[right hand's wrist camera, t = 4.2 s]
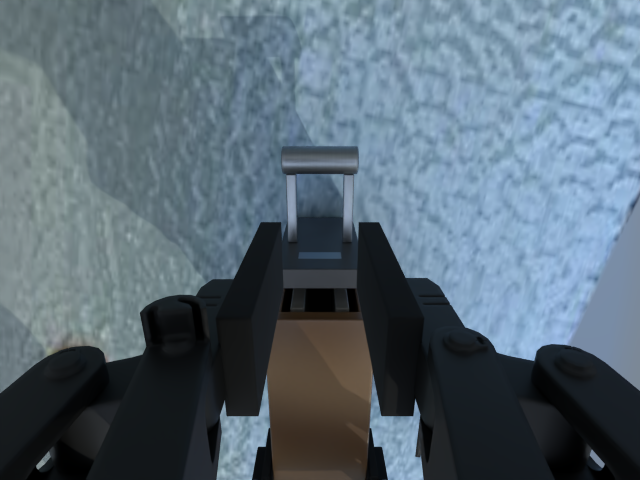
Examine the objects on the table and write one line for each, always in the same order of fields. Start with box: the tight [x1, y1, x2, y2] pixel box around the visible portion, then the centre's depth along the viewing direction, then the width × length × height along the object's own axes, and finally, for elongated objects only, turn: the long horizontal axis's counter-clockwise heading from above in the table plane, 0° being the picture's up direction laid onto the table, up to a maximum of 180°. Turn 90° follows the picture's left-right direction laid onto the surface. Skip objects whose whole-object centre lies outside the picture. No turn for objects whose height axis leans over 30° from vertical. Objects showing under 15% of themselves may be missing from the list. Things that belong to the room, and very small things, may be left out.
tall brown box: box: [267, 288, 373, 480], centre depth 29 cm, size 16×6×11 cm, turn 0°
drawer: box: [281, 146, 359, 312], centre depth 26 cm, size 21×5×10 cm, turn 0°
